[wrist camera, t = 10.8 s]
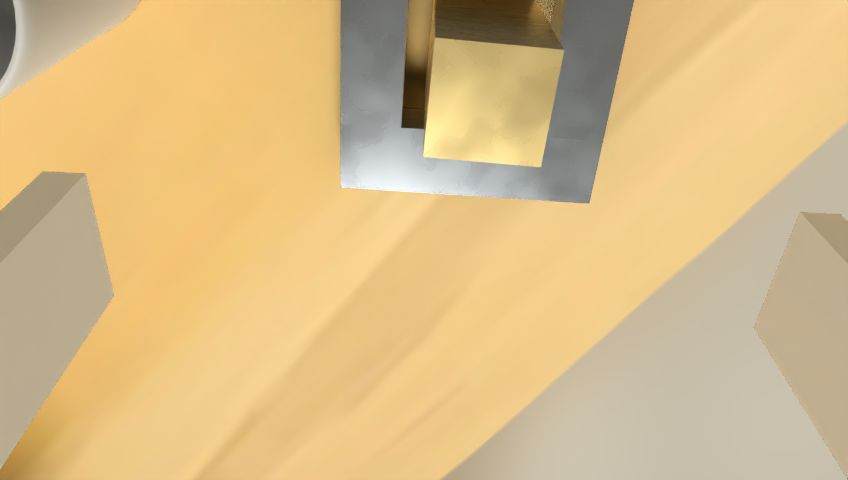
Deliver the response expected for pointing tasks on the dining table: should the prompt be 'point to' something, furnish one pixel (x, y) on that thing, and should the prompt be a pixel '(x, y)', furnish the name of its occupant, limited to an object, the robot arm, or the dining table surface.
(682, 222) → the dining table surface
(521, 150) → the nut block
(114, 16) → the mug
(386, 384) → the dining table surface
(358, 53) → the square hole plate
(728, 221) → the dining table surface
